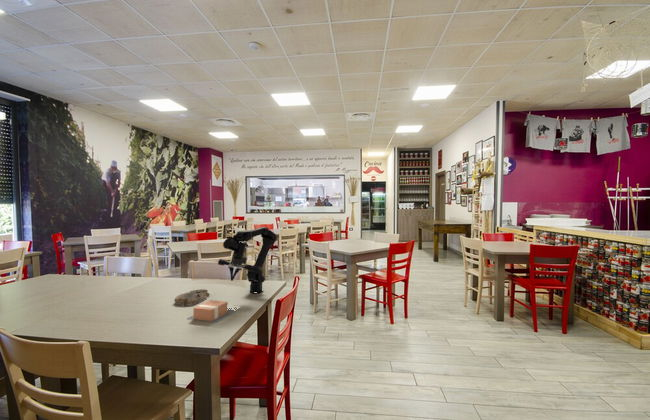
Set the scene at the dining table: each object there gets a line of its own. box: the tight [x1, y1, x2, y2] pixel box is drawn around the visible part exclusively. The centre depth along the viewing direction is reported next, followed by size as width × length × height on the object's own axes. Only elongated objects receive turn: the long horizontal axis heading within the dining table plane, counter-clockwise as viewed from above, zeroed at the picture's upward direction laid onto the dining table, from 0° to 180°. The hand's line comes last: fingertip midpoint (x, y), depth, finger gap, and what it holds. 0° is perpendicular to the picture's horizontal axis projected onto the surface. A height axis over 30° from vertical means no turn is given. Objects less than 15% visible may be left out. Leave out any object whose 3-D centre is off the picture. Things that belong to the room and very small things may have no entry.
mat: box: [186, 305, 242, 324], centre depth 139 cm, size 22×16×1 cm
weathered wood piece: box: [173, 288, 210, 307], centre depth 160 cm, size 14×5×20 cm
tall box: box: [192, 299, 228, 321], centre depth 135 cm, size 5×10×12 cm
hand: (231, 280), depth 157 cm, fingers closed
